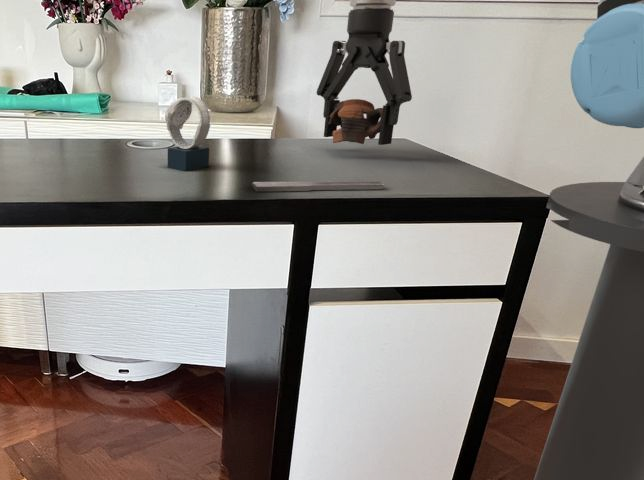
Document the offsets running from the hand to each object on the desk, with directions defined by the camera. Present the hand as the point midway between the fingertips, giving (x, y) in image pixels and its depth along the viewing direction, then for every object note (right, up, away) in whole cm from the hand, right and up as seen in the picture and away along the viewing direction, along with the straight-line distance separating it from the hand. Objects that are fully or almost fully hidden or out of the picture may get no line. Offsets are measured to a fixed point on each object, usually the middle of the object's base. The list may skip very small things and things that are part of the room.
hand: (356, 140), depth 118 cm
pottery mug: (0, 0, 0) cm, 0 cm away
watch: (-31, -8, -10) cm, 34 cm away
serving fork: (-12, -15, -25) cm, 32 cm away
